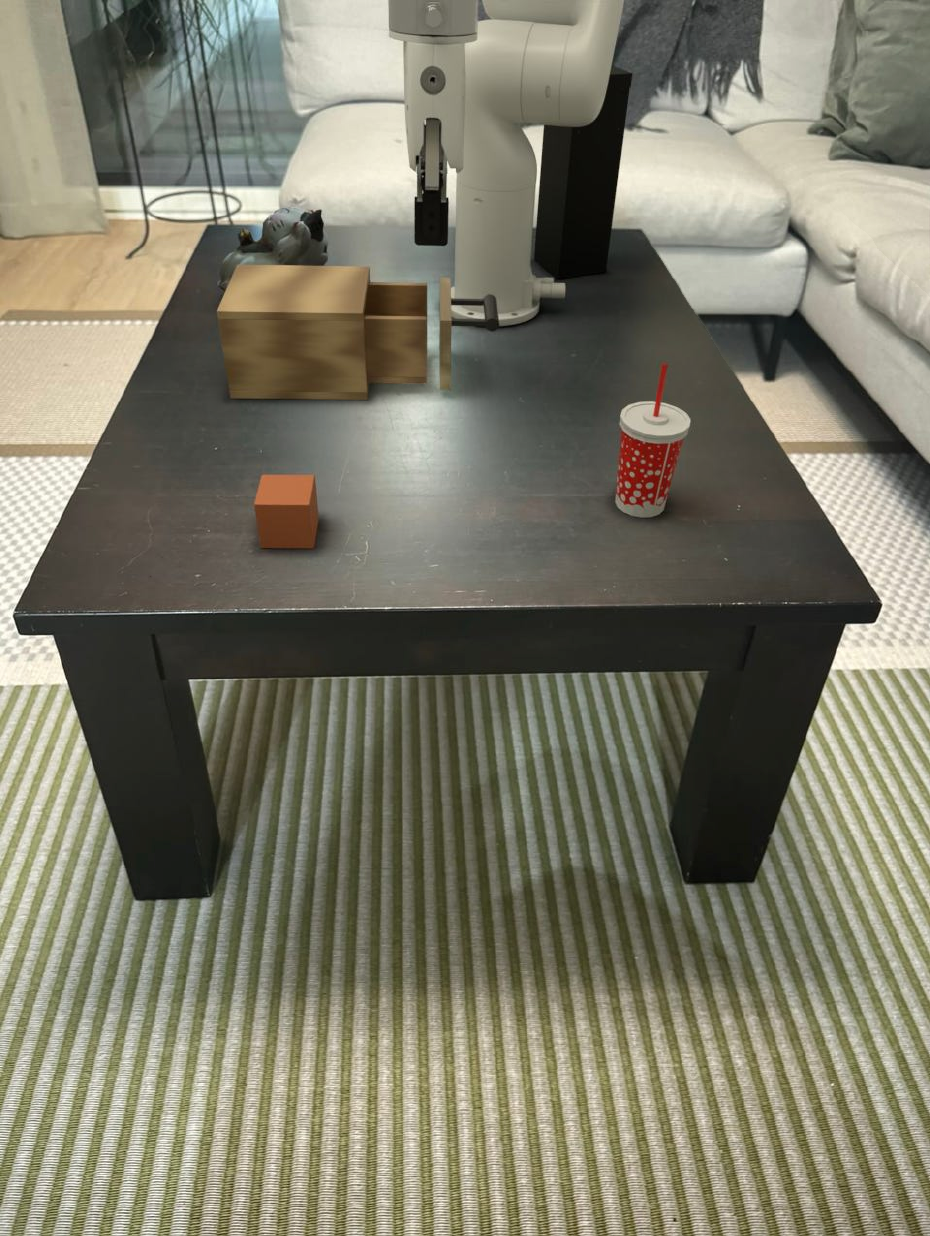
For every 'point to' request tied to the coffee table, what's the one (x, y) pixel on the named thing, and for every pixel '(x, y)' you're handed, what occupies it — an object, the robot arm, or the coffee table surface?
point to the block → (287, 511)
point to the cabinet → (295, 332)
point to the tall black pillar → (581, 187)
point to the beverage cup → (649, 453)
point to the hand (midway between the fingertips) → (431, 242)
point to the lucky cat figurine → (281, 243)
